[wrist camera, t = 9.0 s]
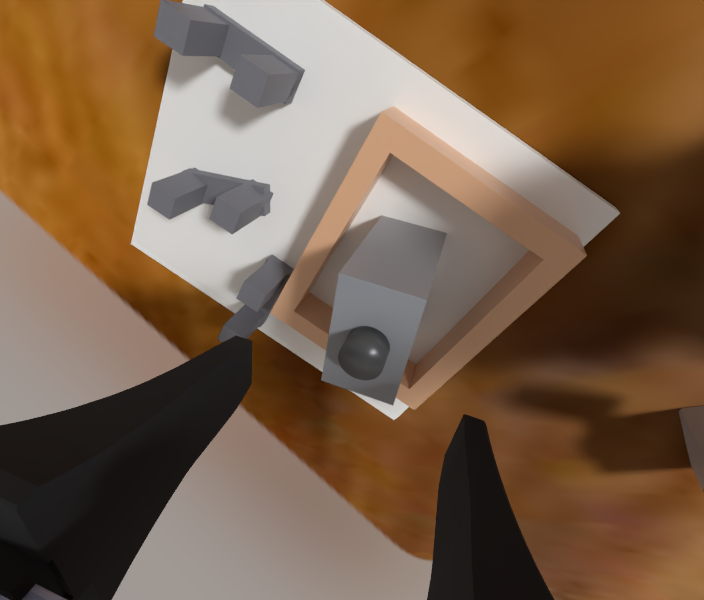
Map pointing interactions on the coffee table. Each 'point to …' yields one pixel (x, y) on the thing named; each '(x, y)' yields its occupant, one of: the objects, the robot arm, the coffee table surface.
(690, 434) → the lighter
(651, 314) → the coffee table surface
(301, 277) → the frame
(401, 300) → the block
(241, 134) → the board
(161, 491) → the robot arm
